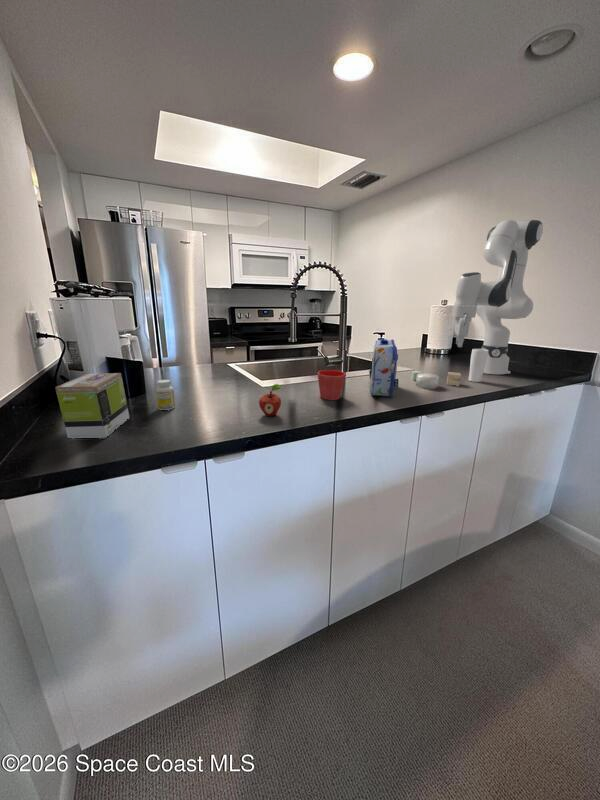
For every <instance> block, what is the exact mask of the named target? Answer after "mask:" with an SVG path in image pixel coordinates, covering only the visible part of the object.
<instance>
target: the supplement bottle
mask: <svg viewBox="0 0 600 800" xmlns="http://www.w3.org/2000/svg"><path fill="white" fill-rule="evenodd" d="M156 385H157V387H156V389H155V392H156V393H155V394H156V400H157V408H158V410H160V411H161V410H168V411H171V410H170V409H172V410H174V409H175V407H176V402H175V393H174V391H175V390H174V387H173V386H171V385H172V383H171V379H160V380H157V384H156ZM173 408H174V409H173Z"/></svg>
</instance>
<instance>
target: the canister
mask: <svg viewBox="0 0 600 800" xmlns="http://www.w3.org/2000/svg"><path fill="white" fill-rule="evenodd" d="M439 379H440V376H439V375H438V374H433V373H428V372H427V373H425V372H422V373H420V374H417V380H416V381H415V386H416V387H417V386H418V387H417V388H420V387H421V389H424V388H426V389H425V390H436V389H438V385H439ZM435 388H436V389H435Z"/></svg>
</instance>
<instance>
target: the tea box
mask: <svg viewBox="0 0 600 800" xmlns="http://www.w3.org/2000/svg"><path fill="white" fill-rule="evenodd" d="M123 381H124V380H123V376H122V373H121V372H114V373H113V372H112V373H109V372H108V373H106V372H105V373H103V372H102V373H85V374H83V375H81V376H79V377H76V378H73V379H71V380H68V381H66V382H64V383H63V384H60V385H57V386H55V387H54V388H55V393H56V396H57V401H58V404H59V405H58V406H59V409H60V413H61V415H62V420H63V424H64V428H65V432H66V436H67V439H68V438H99V439H106V438H108V437H109V436H110V435H111V434H113V432H114V430H115V429H116V430H117V429H118V428H119V427H121V426H122V425H123V424H124V423H125V422H126V421H128V420H129V419H130V412H129V409H128V403H127V396H126V393H125V387H124V382H123ZM127 419H128V420H127ZM120 425H121V426H120ZM116 430H115V431H116ZM107 436H108V437H107ZM105 437H106V438H105Z"/></svg>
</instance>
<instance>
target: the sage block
mask: <svg viewBox="0 0 600 800" xmlns="http://www.w3.org/2000/svg"><path fill="white" fill-rule="evenodd" d="M410 372H411V373H410V380H411V381H413V380H417V374H420V373H423V372H422V371H420V370H411V371H410Z"/></svg>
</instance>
